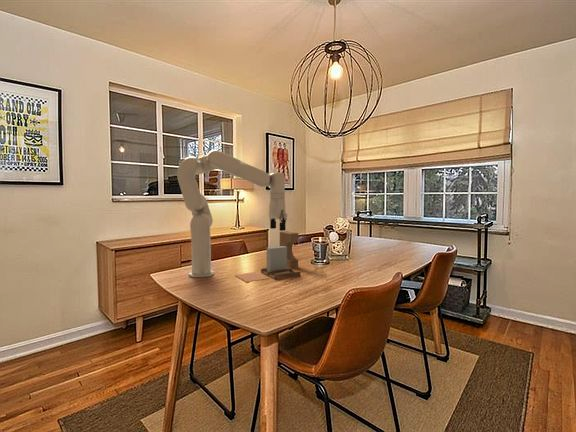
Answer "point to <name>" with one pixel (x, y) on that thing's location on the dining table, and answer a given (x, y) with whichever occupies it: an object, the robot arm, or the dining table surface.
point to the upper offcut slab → (282, 273)
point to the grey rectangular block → (276, 258)
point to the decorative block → (289, 247)
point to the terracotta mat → (251, 277)
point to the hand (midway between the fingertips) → (277, 229)
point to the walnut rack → (281, 276)
